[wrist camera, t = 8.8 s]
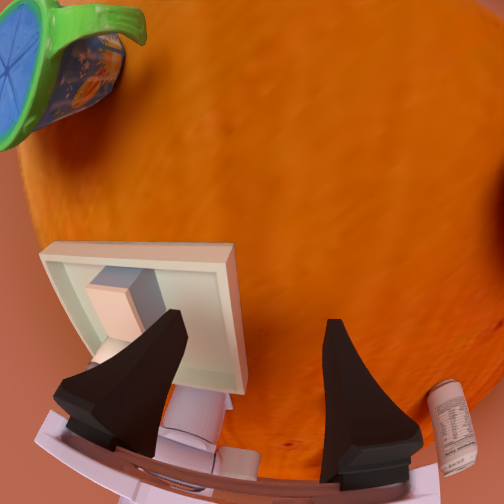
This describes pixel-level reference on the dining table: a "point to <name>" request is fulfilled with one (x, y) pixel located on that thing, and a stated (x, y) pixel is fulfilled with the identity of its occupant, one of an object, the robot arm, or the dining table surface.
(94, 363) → the jar
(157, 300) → the pale pink block
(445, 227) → the dining table surface
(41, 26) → the snack cup
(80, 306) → the white square tray
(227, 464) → the lumpy-topped squat cylinder
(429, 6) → the dining table surface
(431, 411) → the energy drink can
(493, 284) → the dining table surface
